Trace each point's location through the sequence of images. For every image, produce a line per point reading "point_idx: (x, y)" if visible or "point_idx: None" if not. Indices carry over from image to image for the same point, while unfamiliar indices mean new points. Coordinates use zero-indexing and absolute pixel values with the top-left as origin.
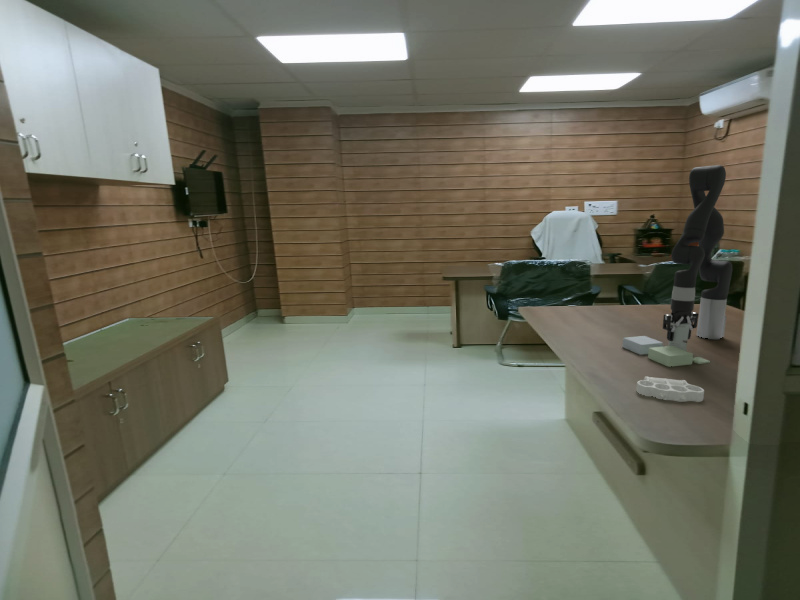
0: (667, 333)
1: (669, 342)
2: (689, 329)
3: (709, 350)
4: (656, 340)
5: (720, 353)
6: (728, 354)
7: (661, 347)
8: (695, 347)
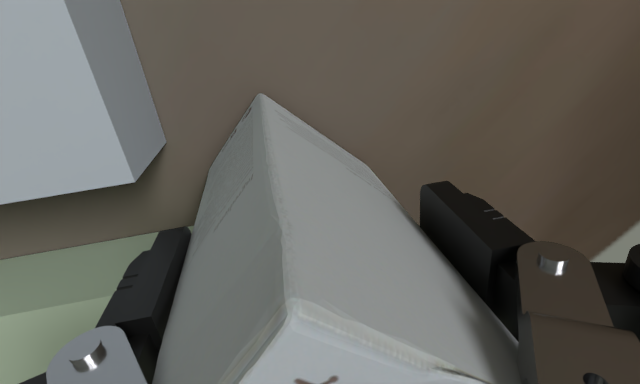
0: (107, 315)
1: (196, 221)
2: (505, 326)
3: (590, 136)
4: (84, 76)
5: (587, 206)
6: (609, 227)
7: (33, 329)
8: (571, 39)
